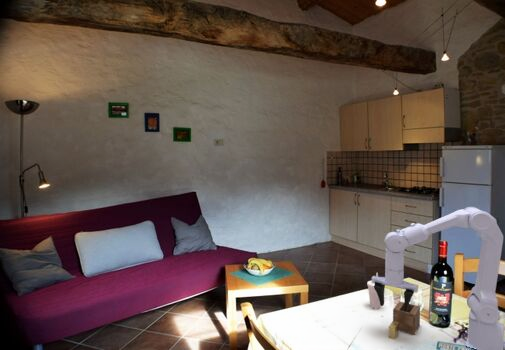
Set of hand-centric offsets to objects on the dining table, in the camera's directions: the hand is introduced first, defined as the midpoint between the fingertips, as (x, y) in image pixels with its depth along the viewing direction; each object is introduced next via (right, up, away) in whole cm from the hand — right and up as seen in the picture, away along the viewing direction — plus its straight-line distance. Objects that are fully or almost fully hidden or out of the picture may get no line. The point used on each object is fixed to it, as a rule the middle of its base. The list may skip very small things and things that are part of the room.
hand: (393, 307), depth 114 cm
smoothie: (+2, -8, +22) cm, 23 cm away
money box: (+7, -9, +6) cm, 13 cm away
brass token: (0, -10, 0) cm, 10 cm away
